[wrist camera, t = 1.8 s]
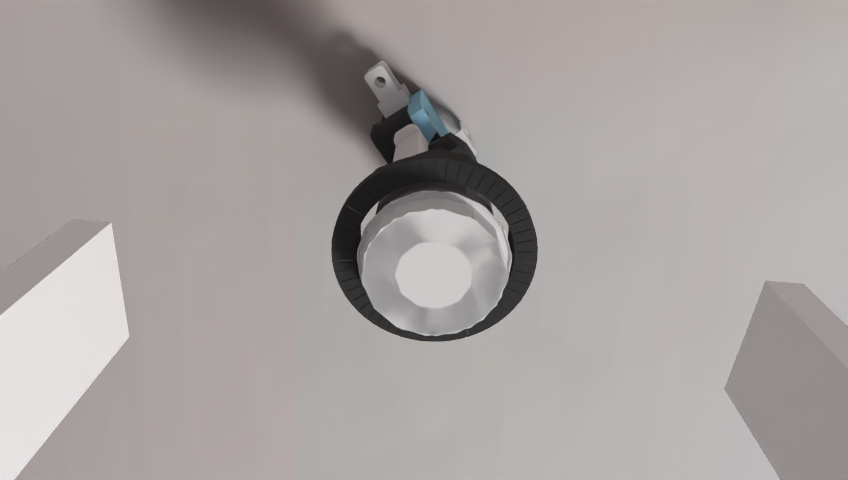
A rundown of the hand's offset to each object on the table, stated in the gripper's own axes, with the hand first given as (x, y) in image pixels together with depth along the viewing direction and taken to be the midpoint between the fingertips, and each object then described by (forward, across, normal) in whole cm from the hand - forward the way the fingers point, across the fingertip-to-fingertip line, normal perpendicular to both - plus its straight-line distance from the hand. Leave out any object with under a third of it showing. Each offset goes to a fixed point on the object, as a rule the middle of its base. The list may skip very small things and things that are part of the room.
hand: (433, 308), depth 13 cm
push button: (+12, 0, 0) cm, 13 cm away
